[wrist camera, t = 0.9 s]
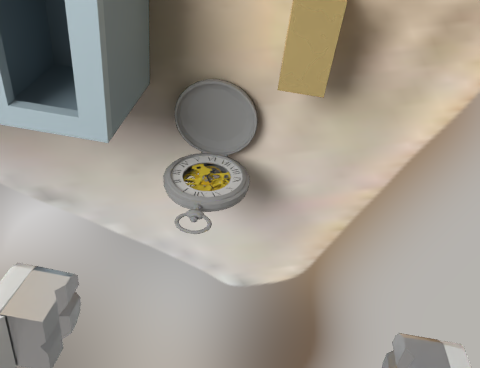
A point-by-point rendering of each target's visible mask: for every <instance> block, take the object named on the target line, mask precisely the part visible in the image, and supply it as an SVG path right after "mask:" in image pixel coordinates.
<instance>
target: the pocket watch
mask: <svg viewBox="0 0 480 368" xmlns="http://www.w3.org/2000/svg"><path fill="white" fill-rule="evenodd" d="M175 121H176V126H177V128H178V131H179V132H180V134H181V135H182V137H183V138H184V139H185V140H186V141H187V142H188V143H189V144H190V145H191V146H193V147H194V148H196V149H198V150H200V151H202V152H201V153H200V154H193V155H189V156H185V157H182V158H180V159H178V160H176V161H174V162H173V163H172V164H171V165H170V166H169V167H168V168H166V171H165V173H164V187H165V190H166V192H167V194H168V196H169V197H170V198H171V199H172V200H173V201H174V202H175V203H177V204H178V205H180V206H182V207H184V208H187V209H191V210H189V211H188V212H186V213H184V214H181V215H179V216H178V217H176V219H175V225H176V227H177V228H178V229H180V230H181V231H183V232H186V233H192V234H200V233H203V232H206V231H208V230H209V229H210V228H211V225H212V223H211V221H210V219H209V218H208V217H206V216H205V215H204V213H203V212H211V211H219V210H224V209H227V208H229V207H232V206H234V205H236V204H237V203H239V202H240V201H241V200H242V199H243V197H244V196H245V194H246V192H247V191H248V187H249V175H248V172H247V170H246V169H245V168H244V167H243V166H242V165H241V164H240V163H239V162H237V161H235V160H233V159H231V158H229V157H227V155H229V154H232V153H235V152H238V151H240V150H241V149H243V148H244V147H246V146H247V145H248V144H249V143H250V141H251V140H252V138H253V137H254V135H255V131H256V128H257V123H258V120H257V112H256V109H255V106H254V104H253V102H252V101H251V99H250V98H249V96H248V95H247V94H246V93H245V92H244V91H243V90H242V89H241V88H239V87H238V86H236V85H234V84H232V83H230V82H227V81H224V80H218V79H206V80H202V81H198V82H196V83H194V84H193V85H190V86H189V87H187V89H186V90H184V91H183V92H182V94H181V95H180V97H179V99H178V101H177V104H176V107H175ZM197 173H199V175H197ZM213 173H215V174H213ZM195 174H196V175H195ZM216 174H218V175H220V177H219V178H217V179H214V177H213V175H216ZM189 176H194V177H192V178H195V179H192V178H190V179H187V178H188V177H189ZM212 178H213V180H211V179H212ZM202 180H203V181H202ZM223 180H224V181H223ZM185 182H188V183H185ZM189 182H190V183H189ZM192 182H194V183H192ZM225 182H227V183H228V184H227V183H225ZM190 184H191V185H193V184H194V185H195V186H194V185H193V186H191V185H190ZM188 185H190V187H189V186H188ZM202 211H203V212H202ZM184 216H188V217H189V218H190V220H191V221H192V222H196V221H197V220H198V219H202V218H204V219H205V220H206V221H207V223H208V225H207V227H206V228H204V229H202V230H199V231H190V230H187V229H184V228H183V227H181V226H180V224H179V220H180V219H181V218H182V217H184Z"/></svg>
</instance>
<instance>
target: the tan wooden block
mask: <svg viewBox="0 0 480 368" xmlns="http://www.w3.org/2000/svg"><path fill="white" fill-rule="evenodd" d="M346 5H347V0H293V3H292V9H291V15H290V20H289V26H288V31H287V37H286V43H285V48H284V54H283V60H282V66H281V72H280V78H279V85H278V90H280V91H286V92H293V93H299V94H305V95H311V96H317V97H323V98H324V94H325V90H326V85H327V81H328V77H329V73H330V69H331V65H332V61H333V57H334V53H335V49H336V45H337V41H338V37H339V33H340V29H341V25H342V21H343V17H344V13H345V9H346Z"/></svg>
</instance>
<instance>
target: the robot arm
mask: <svg viewBox="0 0 480 368" xmlns="http://www.w3.org/2000/svg"><path fill="white" fill-rule="evenodd" d="M78 285H79V282H78V275H75V274H71V273H67V272H62V271H57V270H53V269H48V268H43V267H38V266H33V265H28V264H23V263H17V264H16V265H14V266H12V267H11V269H10V270H9V271H8V272H7V273H6V275H5V276H4V277H3V278H2V280H1V281H0V368H16V366H21V367H27V368H53V366H54V364H55V363H56V361H57V359H58V357H59V355H60V353H61V351H62V350H63V342H62V339H63V338H65V337H66V336H68V335H69V334H71V333H72V331H73V329H74V327H75V325H76V323H77V319H78V316H79V313H80V305H81V302H80V296H79V295H78V294H77V293H76V292H75V291H76V289H77V287H78ZM392 344H393V349H394V350H393V351H391V352H389V353H387V355H386V357H385V359H384V361H383V365H382V368H471V365H470V363H469V360H468V357H467V354H466V351H465V349H464V347H463V346H462V345H461V344H458V343H451V342H446V341H441V340H440V341H439V340H437V339H431V338H425V337H419V336H413V335H407V334H402V333H399V334H397V335H396V336H395V338H394V340H393V342H392Z"/></svg>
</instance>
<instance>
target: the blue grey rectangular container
mask: <svg viewBox="0 0 480 368" xmlns="http://www.w3.org/2000/svg"><path fill="white" fill-rule="evenodd" d="M149 83H150V75H149V0H0V125H6V126H12V127H18V128H23V129H29V130H35V131H41V132H47V133H53V134H59V135H64V136H70V137H76V138H82V139H88V140H94V141H100V142H105V143H108V142H109V141H110V139H111V138H112V137H113V135H114V134H115V132H116V131H117V129H118V128H119V127H120V125H121V124H122V122H123V121H124V119H125V118H126V117H127V115H128V114H129V112H130V111H131V109H132V108H133V106H134V105H135V104H136V102H137V101H138V99H139V98H140V96H141V95H142V94H143V92H144V91H145V89H146V88H147V86H148V85H149Z"/></svg>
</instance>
